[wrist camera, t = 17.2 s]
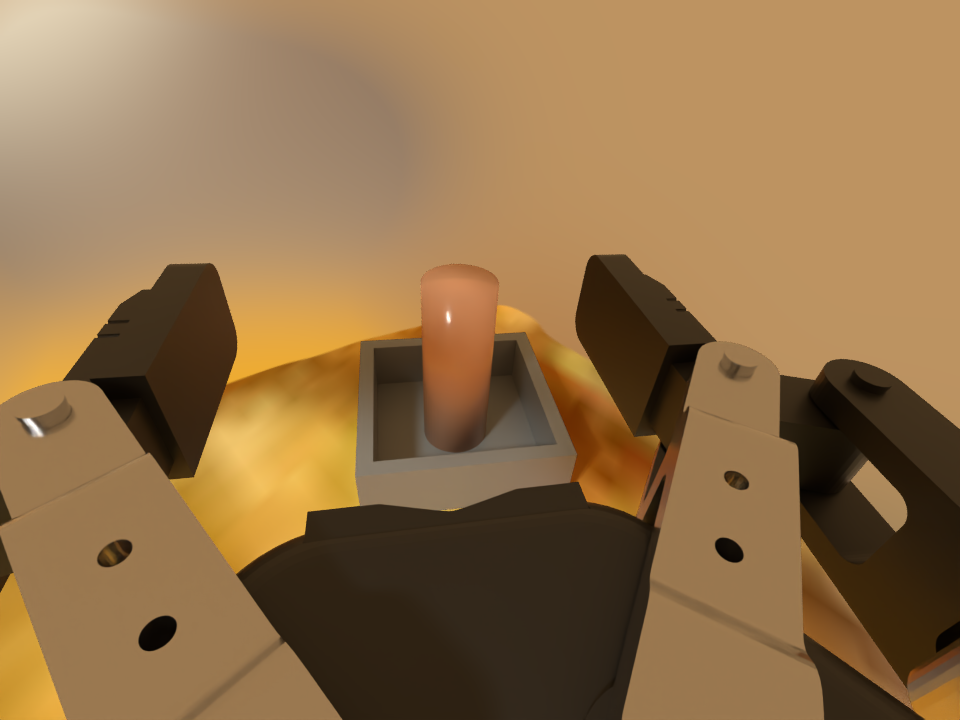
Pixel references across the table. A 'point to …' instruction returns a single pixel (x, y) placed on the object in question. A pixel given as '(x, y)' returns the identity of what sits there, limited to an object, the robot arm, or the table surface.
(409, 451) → the tote
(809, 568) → the table surface
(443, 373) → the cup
